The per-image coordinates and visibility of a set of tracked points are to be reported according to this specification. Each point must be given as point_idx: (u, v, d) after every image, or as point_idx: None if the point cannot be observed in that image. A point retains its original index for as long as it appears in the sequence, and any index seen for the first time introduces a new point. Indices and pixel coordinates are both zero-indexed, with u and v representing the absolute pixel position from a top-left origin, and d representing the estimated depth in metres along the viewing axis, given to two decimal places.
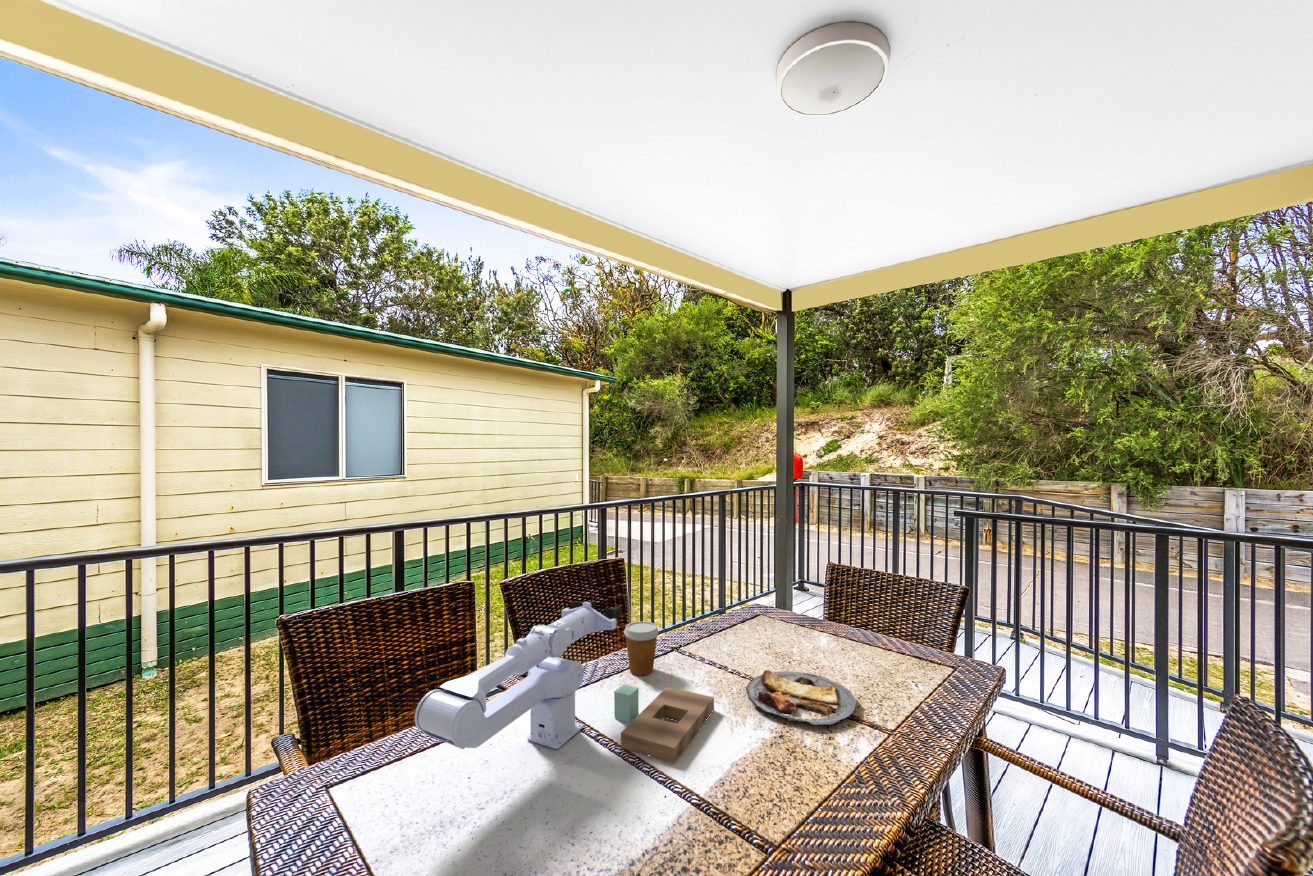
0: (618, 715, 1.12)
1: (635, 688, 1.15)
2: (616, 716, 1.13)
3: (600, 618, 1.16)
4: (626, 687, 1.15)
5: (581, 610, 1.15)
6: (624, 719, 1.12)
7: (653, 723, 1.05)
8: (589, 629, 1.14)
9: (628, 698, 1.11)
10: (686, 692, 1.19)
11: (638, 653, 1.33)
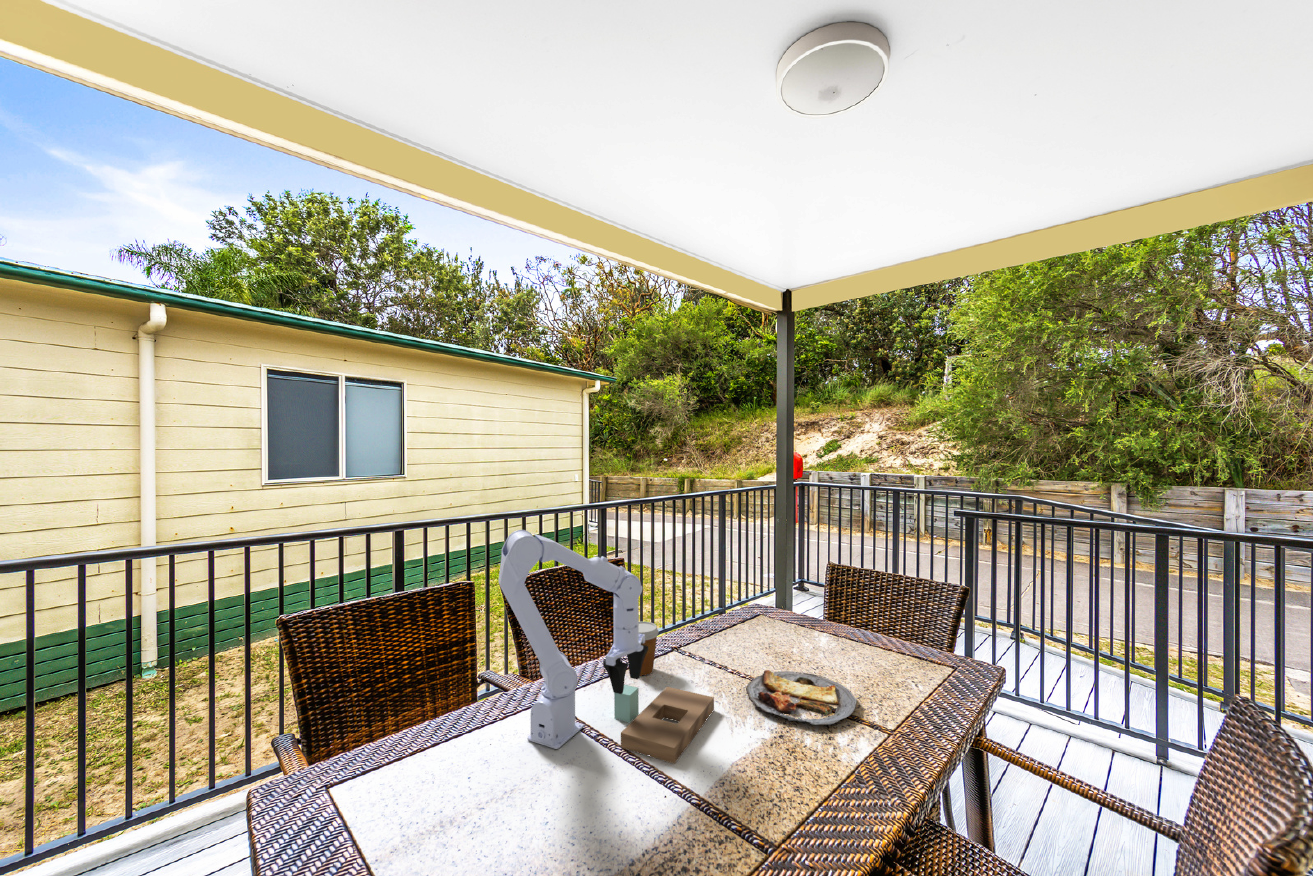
0: (618, 715, 1.12)
1: (635, 688, 1.15)
2: (616, 716, 1.13)
3: (621, 653, 1.10)
4: (626, 687, 1.15)
5: (636, 638, 1.13)
6: (624, 719, 1.12)
7: (653, 723, 1.05)
8: (616, 637, 1.12)
9: (628, 698, 1.11)
10: (686, 692, 1.19)
11: None
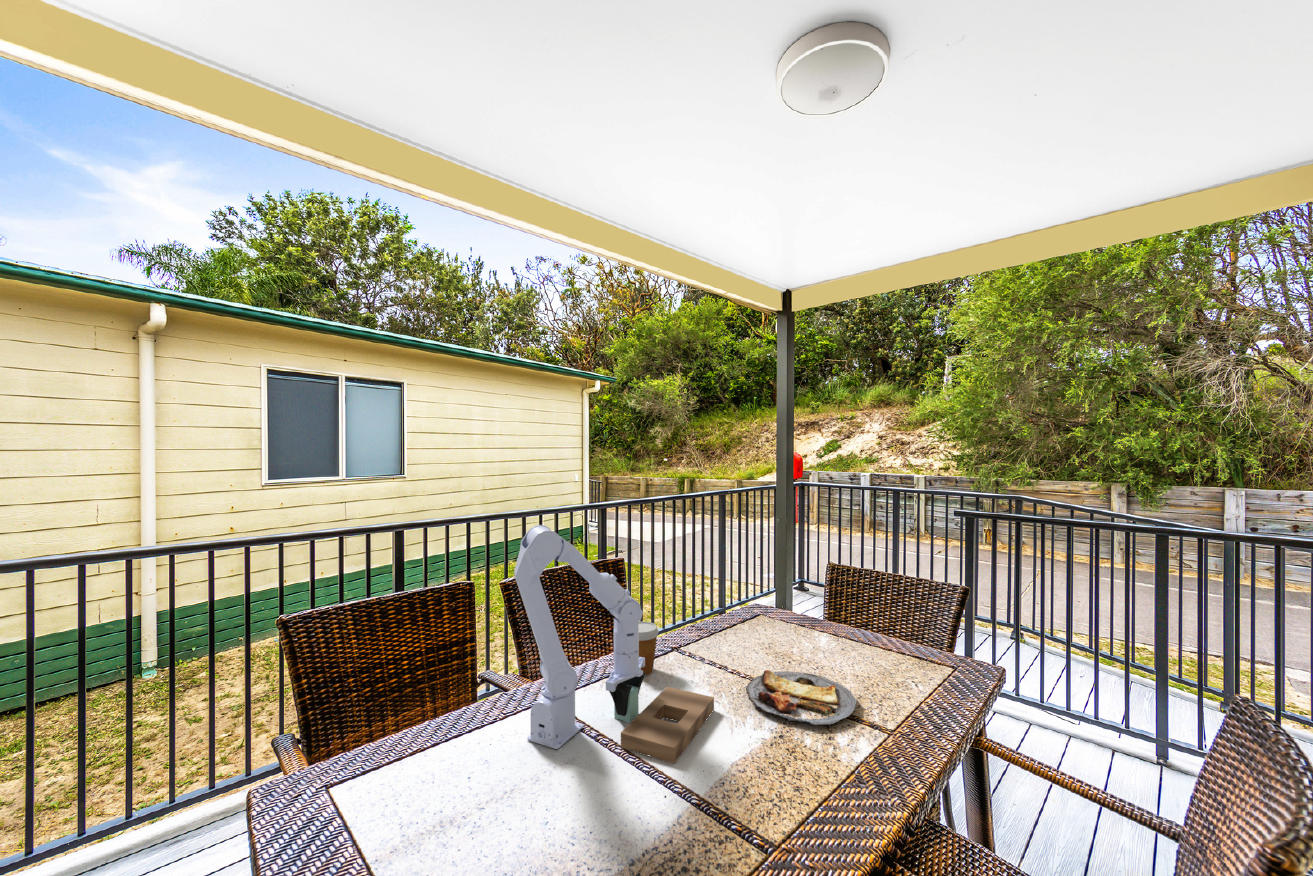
0: (618, 715, 1.12)
1: (635, 688, 1.14)
2: (616, 716, 1.13)
3: None
4: None
5: (637, 663, 1.13)
6: (624, 719, 1.12)
7: (653, 723, 1.05)
8: (616, 662, 1.12)
9: (628, 698, 1.11)
10: (686, 692, 1.19)
11: None
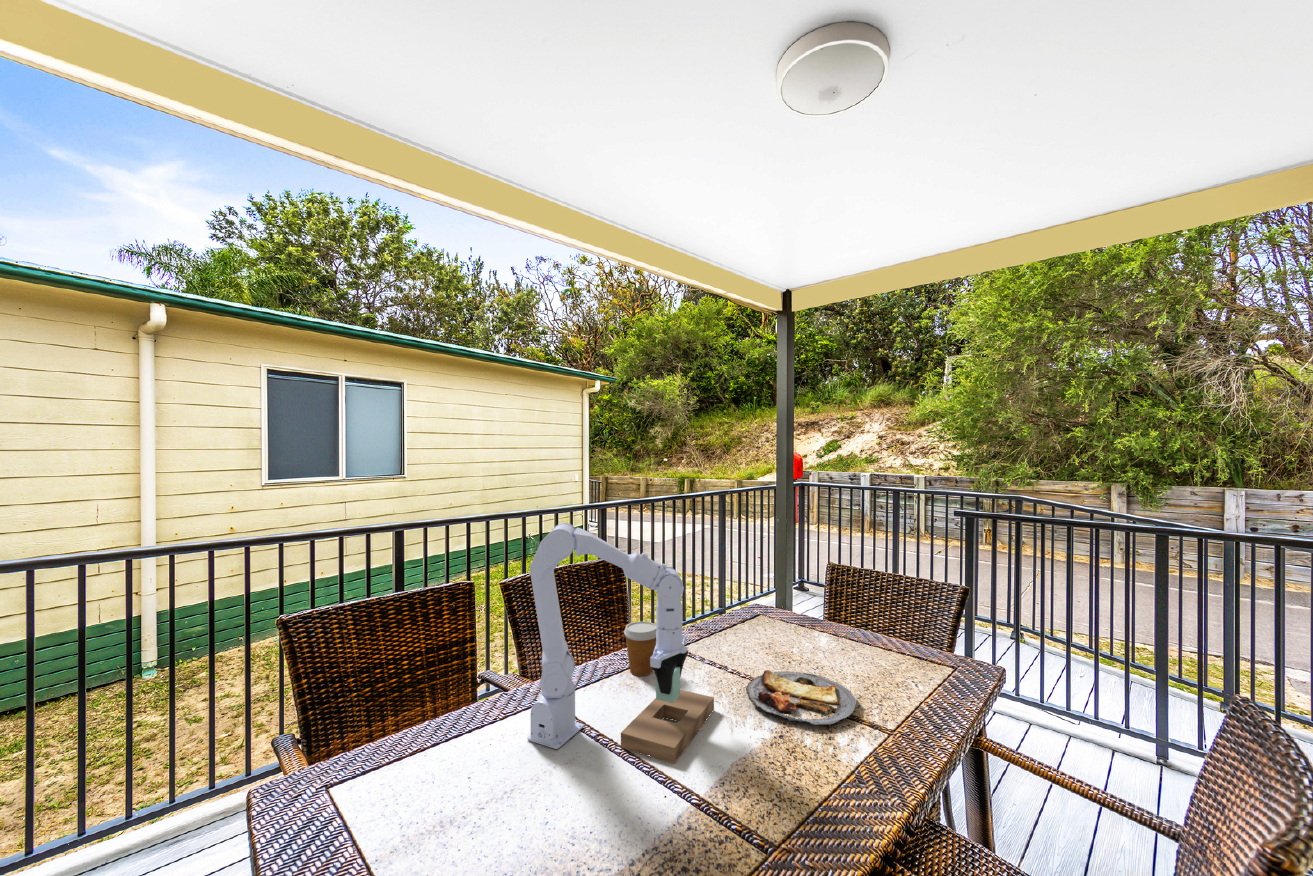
0: (660, 695, 1.08)
1: (677, 668, 1.10)
2: (658, 696, 1.08)
3: None
4: None
5: (681, 639, 1.08)
6: (666, 699, 1.07)
7: (653, 723, 1.05)
8: (660, 638, 1.07)
9: None
10: (686, 692, 1.19)
11: (638, 653, 1.33)
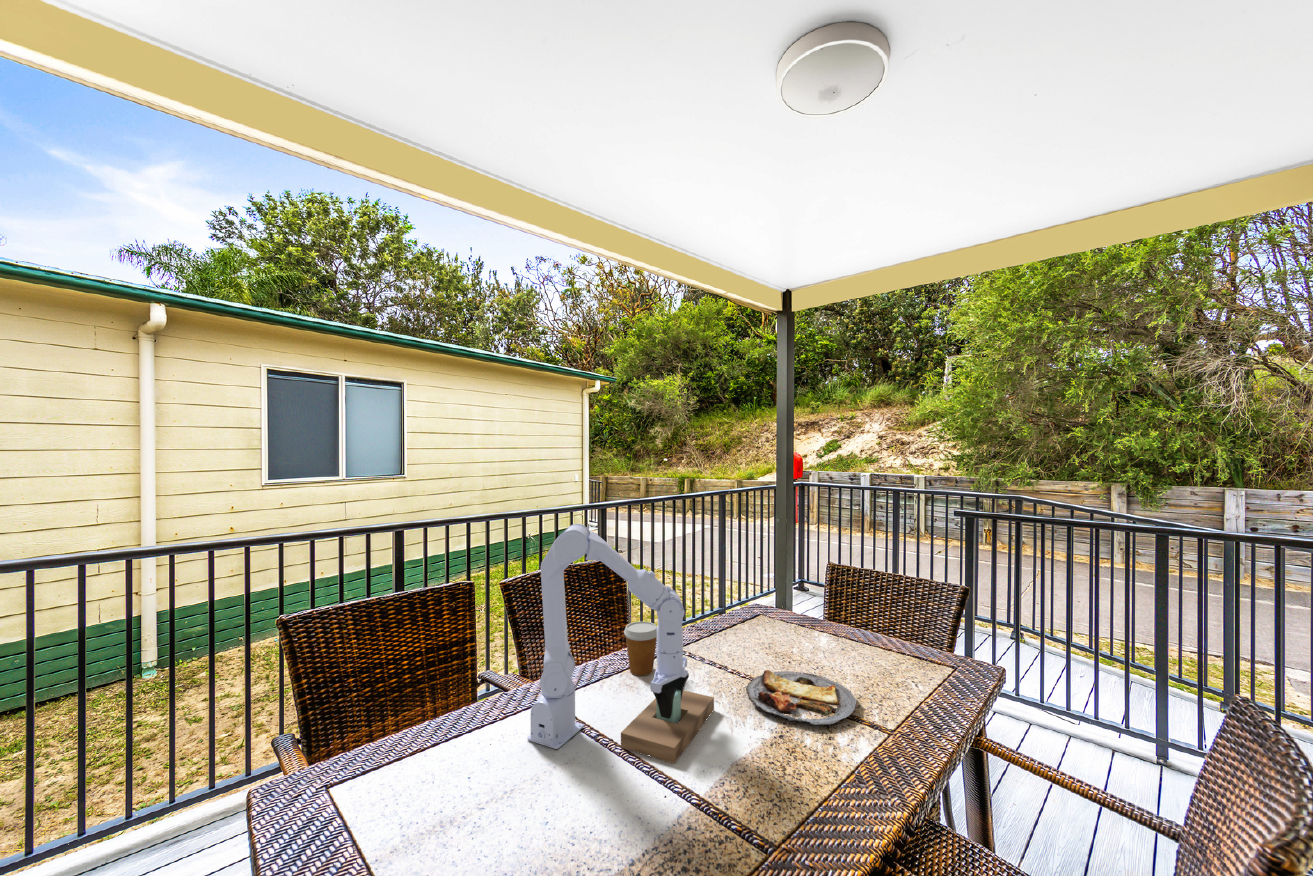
0: (660, 719, 1.08)
1: (677, 691, 1.10)
2: None
3: None
4: None
5: (681, 663, 1.08)
6: None
7: (653, 723, 1.05)
8: (660, 662, 1.07)
9: None
10: (686, 692, 1.19)
11: (638, 653, 1.33)
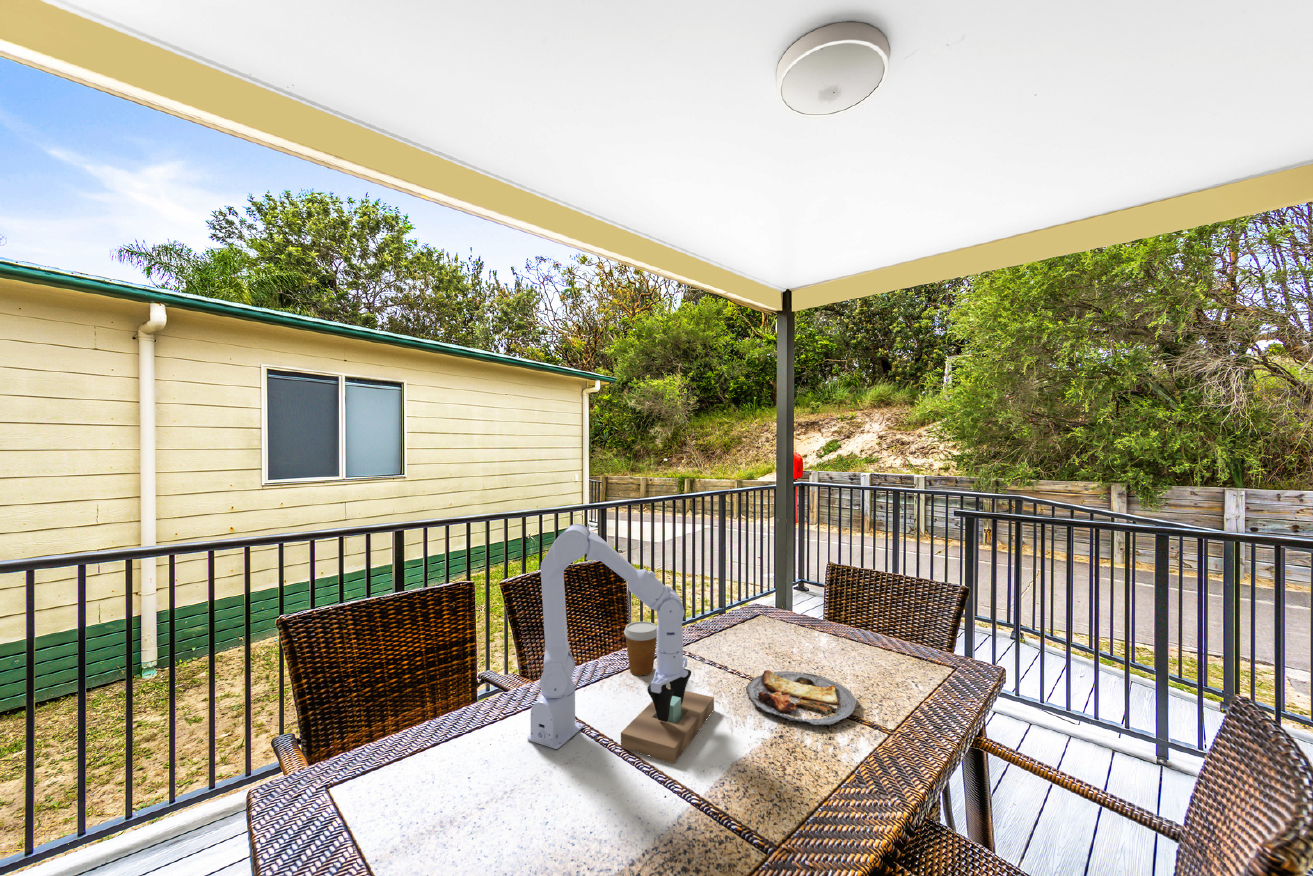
0: None
1: (678, 698, 1.10)
2: None
3: None
4: None
5: (681, 663, 1.08)
6: None
7: (653, 723, 1.05)
8: (660, 662, 1.07)
9: (672, 709, 1.07)
10: (686, 692, 1.19)
11: (638, 653, 1.33)
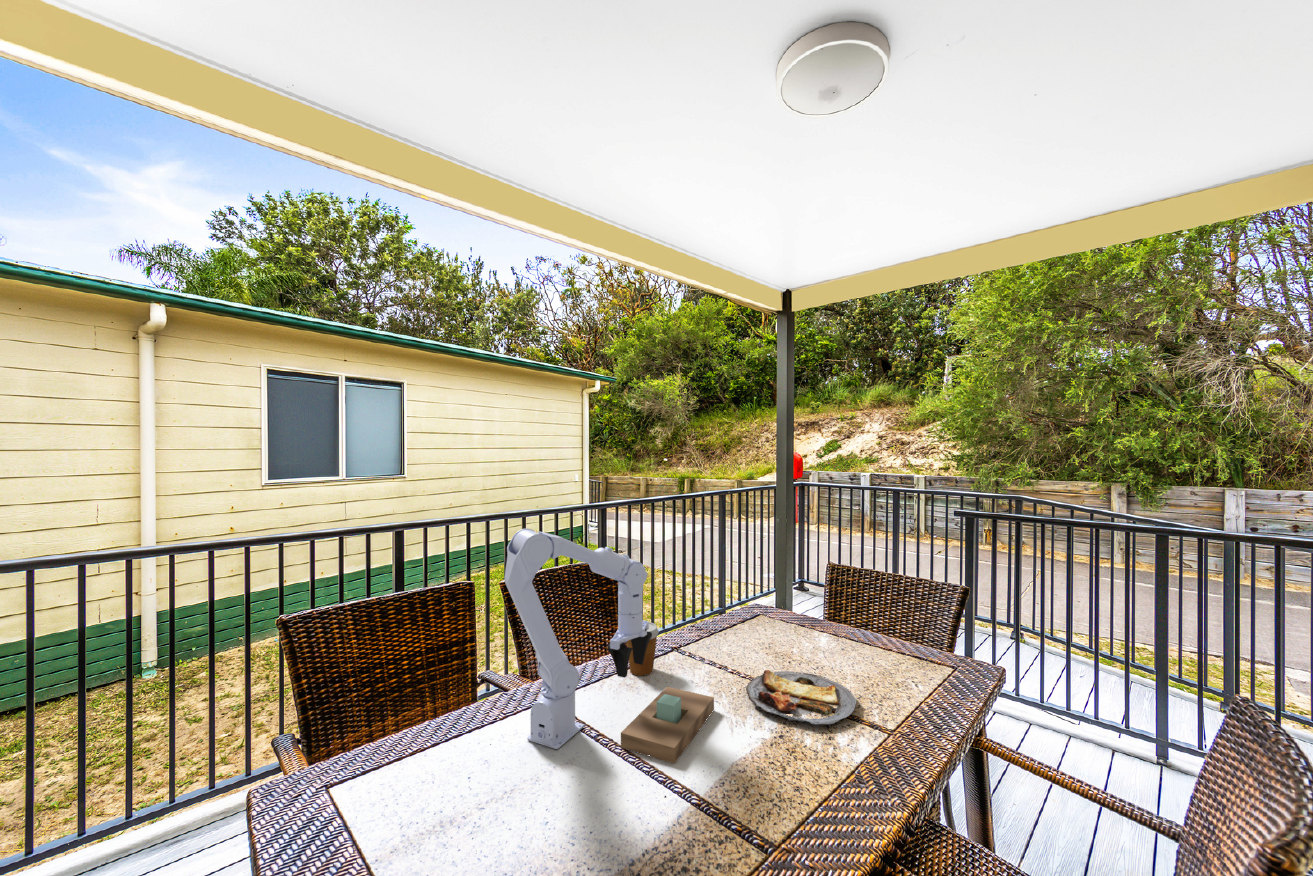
0: None
1: (678, 698, 1.10)
2: None
3: None
4: (668, 697, 1.10)
5: (640, 623, 1.16)
6: None
7: (653, 723, 1.05)
8: (621, 623, 1.15)
9: (672, 709, 1.07)
10: (686, 692, 1.19)
11: None
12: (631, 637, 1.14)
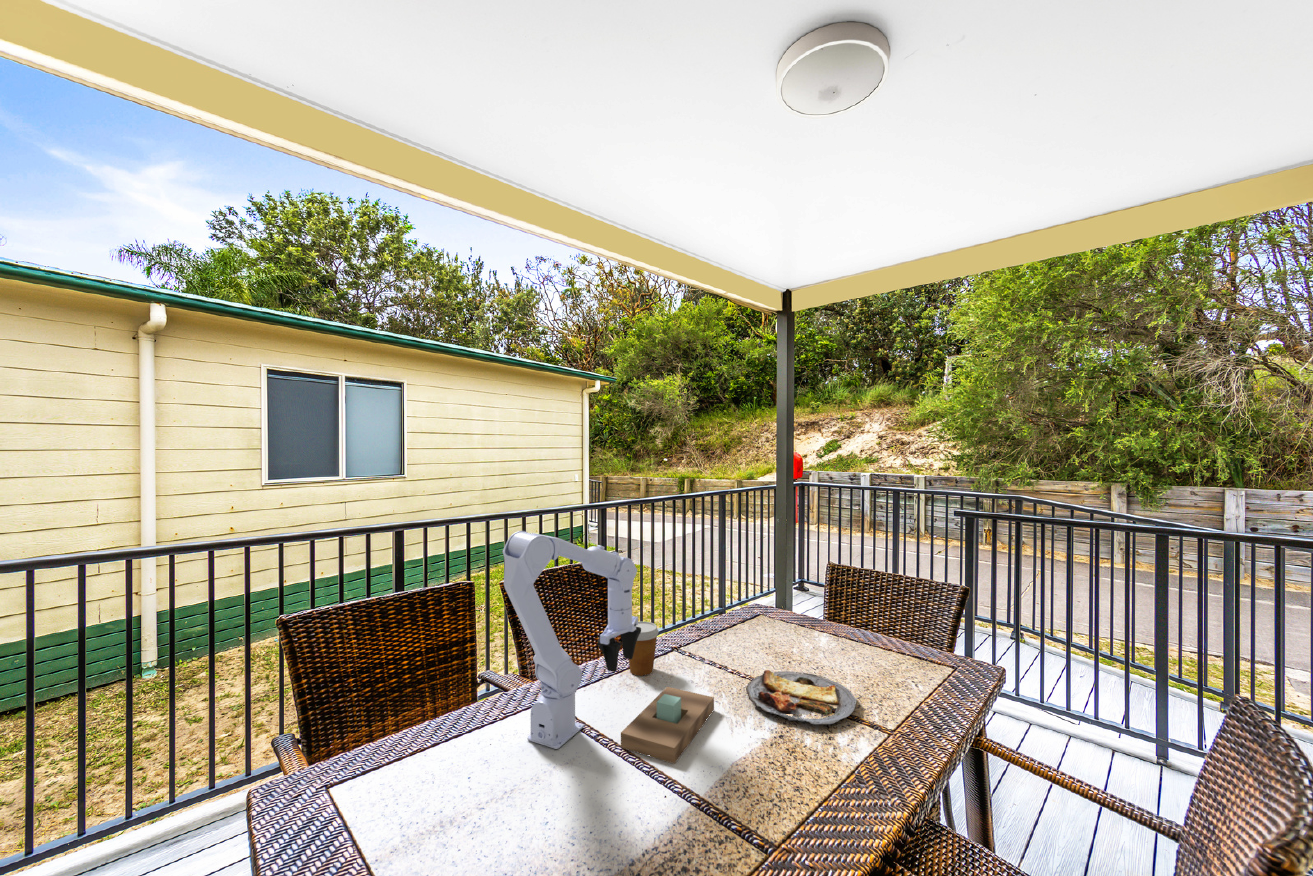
0: None
1: (678, 698, 1.10)
2: None
3: None
4: (668, 697, 1.10)
5: (630, 619, 1.18)
6: None
7: (653, 723, 1.05)
8: (610, 618, 1.18)
9: (672, 709, 1.07)
10: (686, 692, 1.19)
11: (638, 653, 1.33)
12: (621, 632, 1.16)
